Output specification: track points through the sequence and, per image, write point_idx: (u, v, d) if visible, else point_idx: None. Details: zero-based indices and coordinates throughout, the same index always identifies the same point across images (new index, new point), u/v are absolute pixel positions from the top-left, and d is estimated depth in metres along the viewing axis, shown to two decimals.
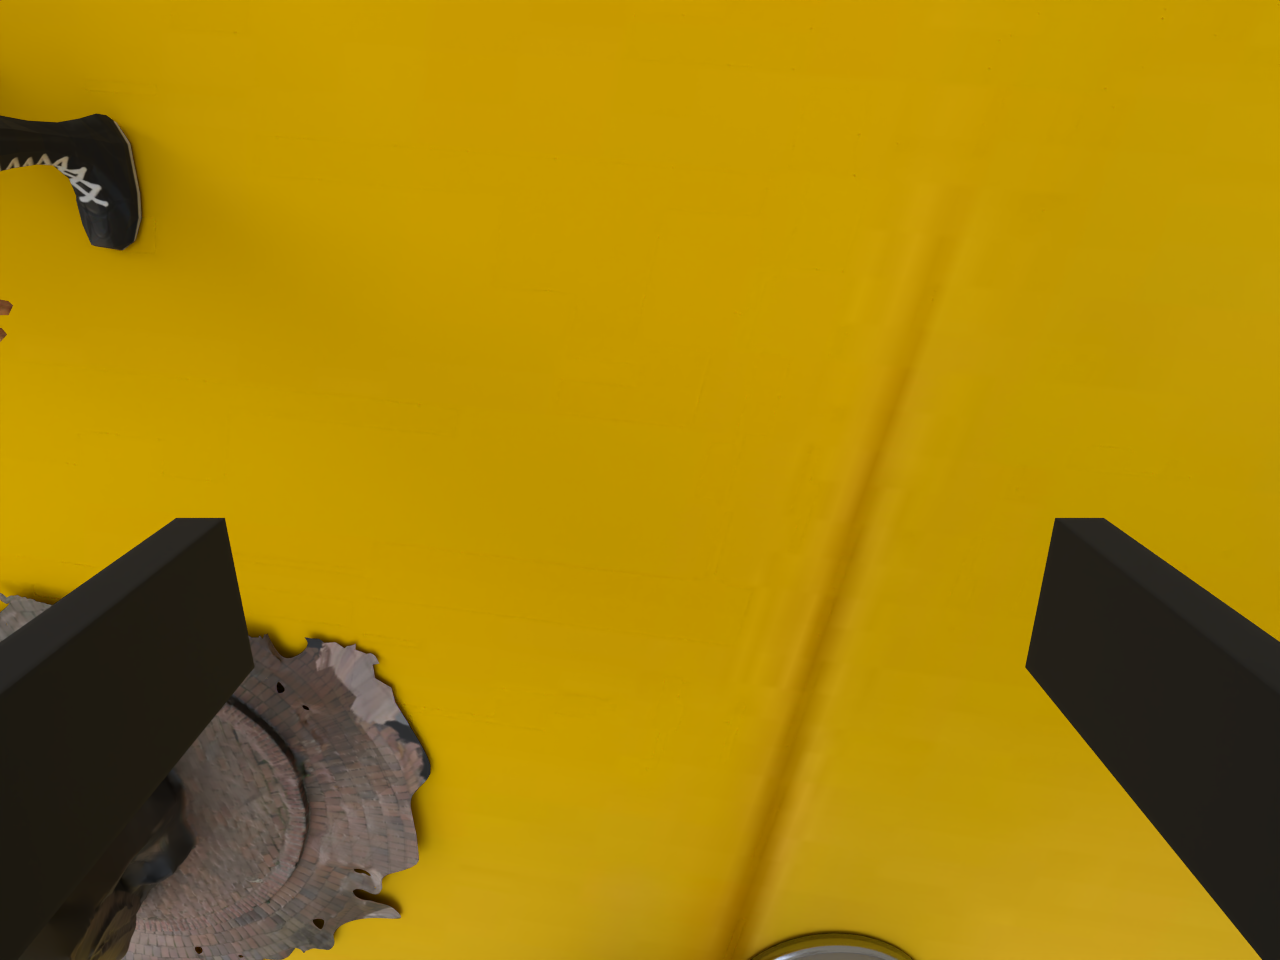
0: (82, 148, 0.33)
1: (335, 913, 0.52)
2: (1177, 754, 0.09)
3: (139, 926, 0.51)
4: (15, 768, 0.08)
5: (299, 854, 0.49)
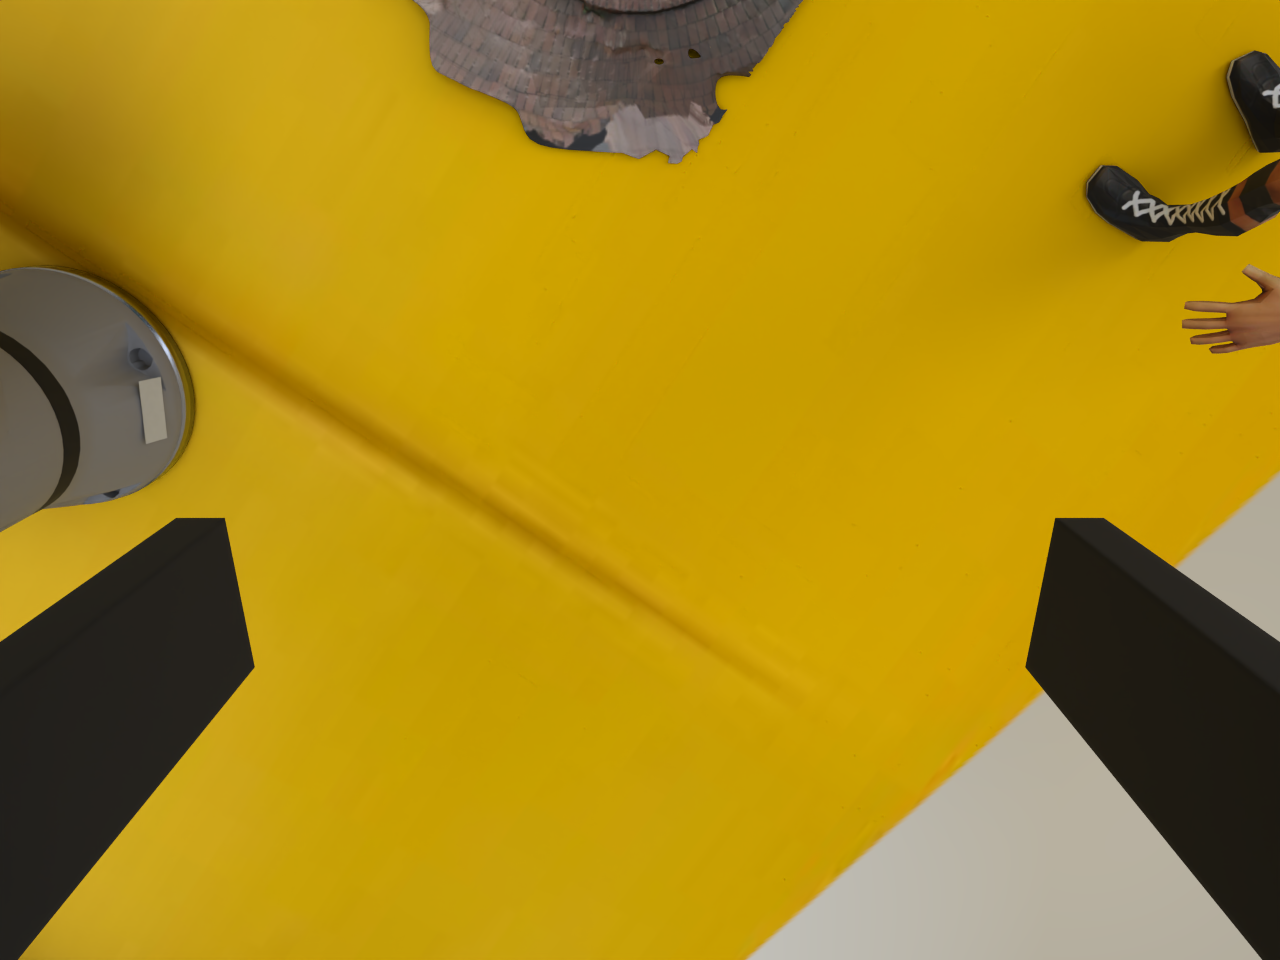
0: (1164, 232, 0.45)
1: None
2: (1177, 754, 0.09)
3: None
4: (15, 767, 0.08)
5: None
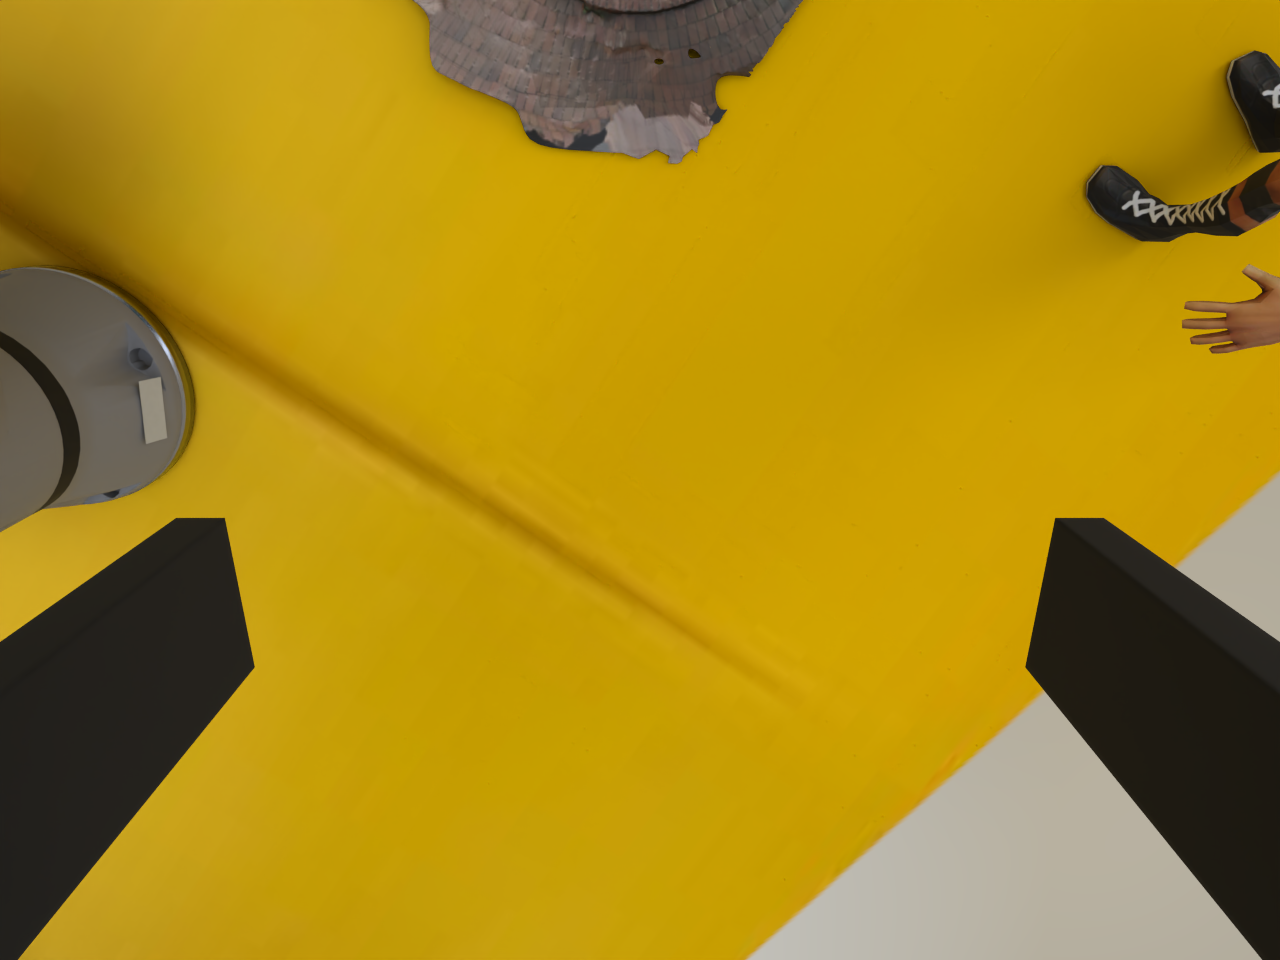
0: (1164, 232, 0.45)
1: None
2: (1177, 754, 0.09)
3: None
4: (15, 767, 0.08)
5: None
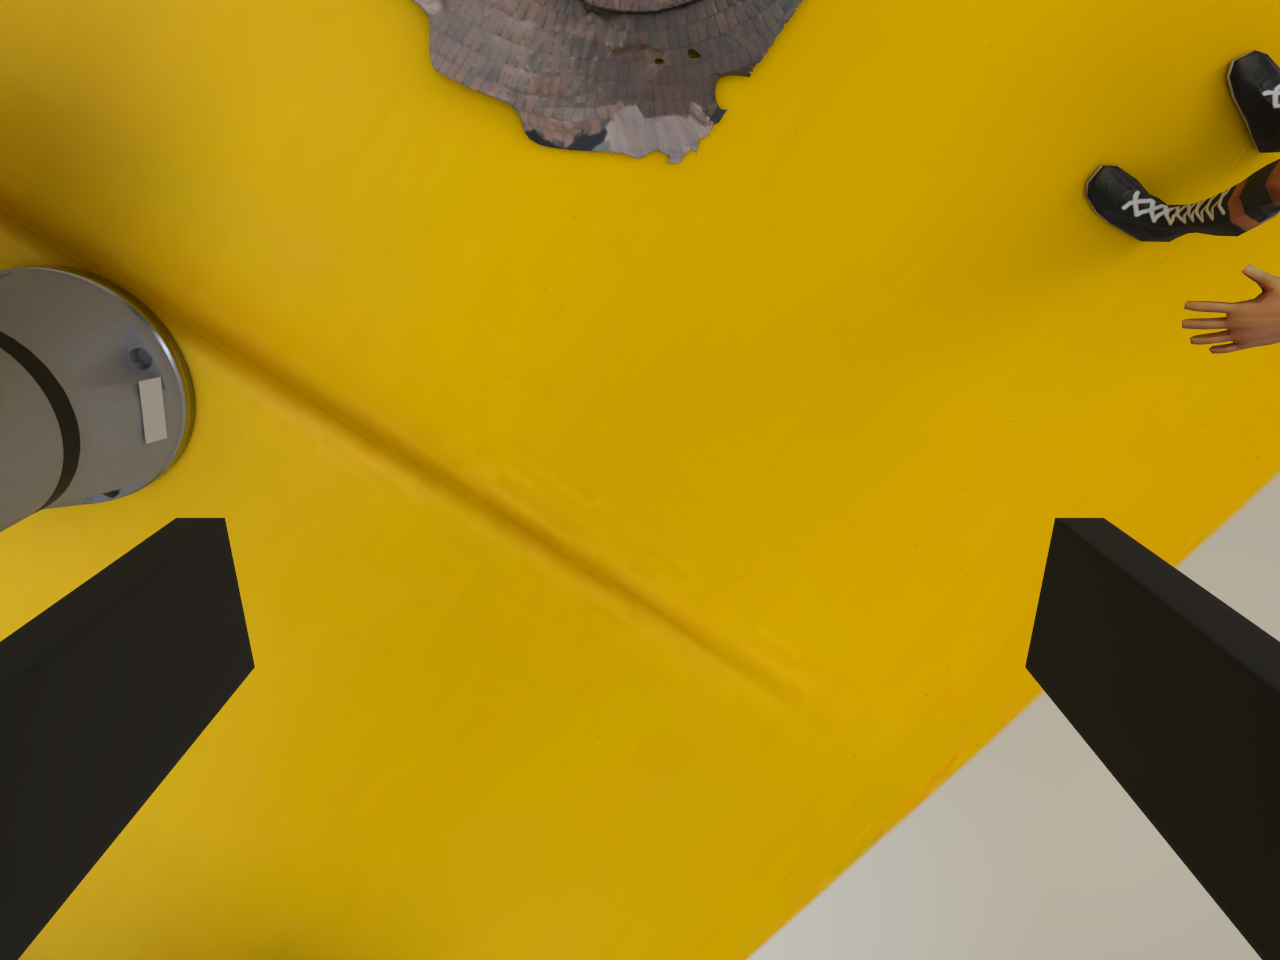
0: (1164, 232, 0.45)
1: None
2: (1177, 754, 0.09)
3: None
4: (15, 767, 0.08)
5: None
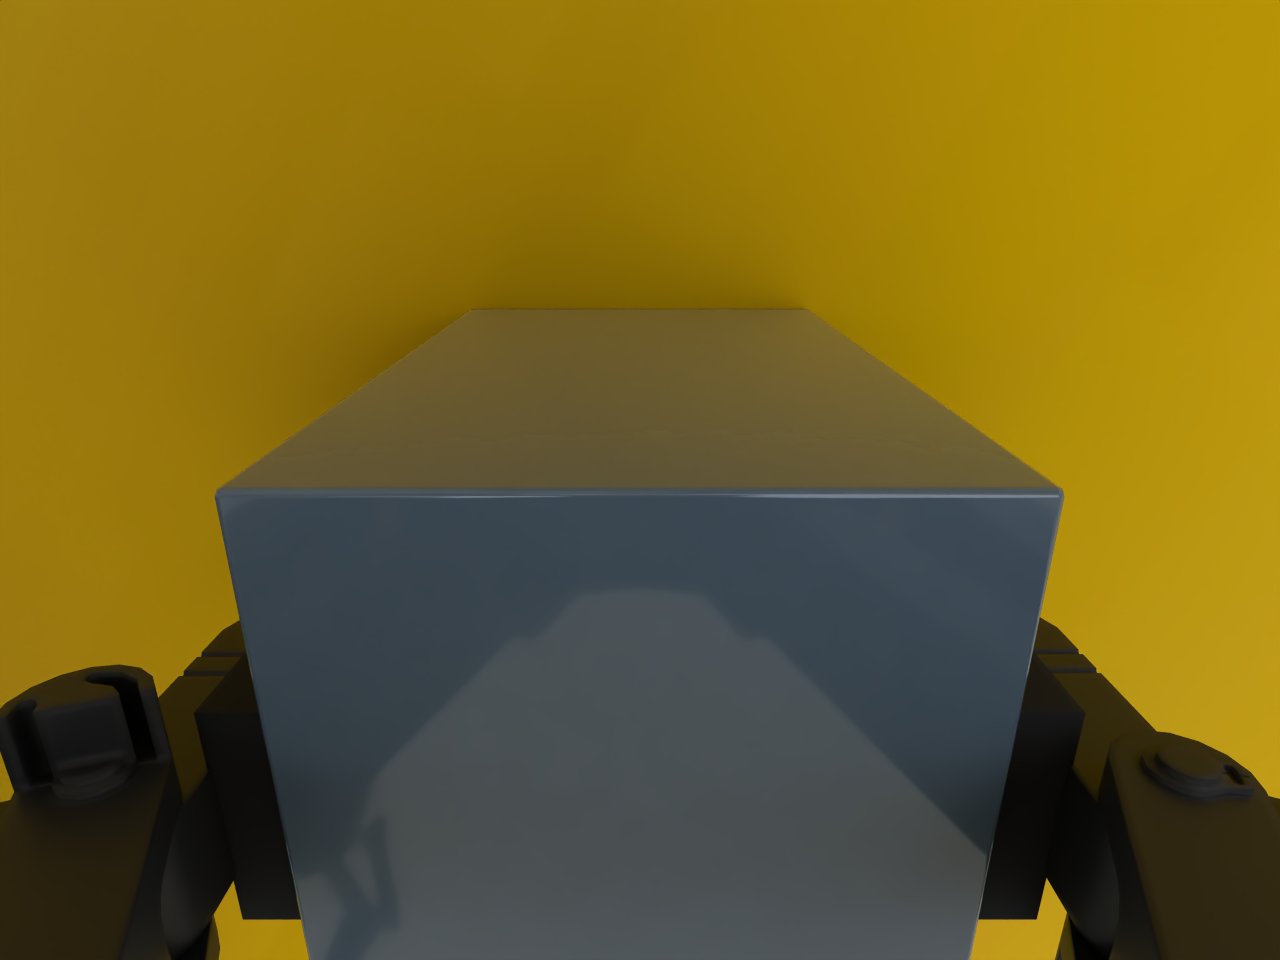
0: None
1: None
2: None
3: None
4: None
5: None
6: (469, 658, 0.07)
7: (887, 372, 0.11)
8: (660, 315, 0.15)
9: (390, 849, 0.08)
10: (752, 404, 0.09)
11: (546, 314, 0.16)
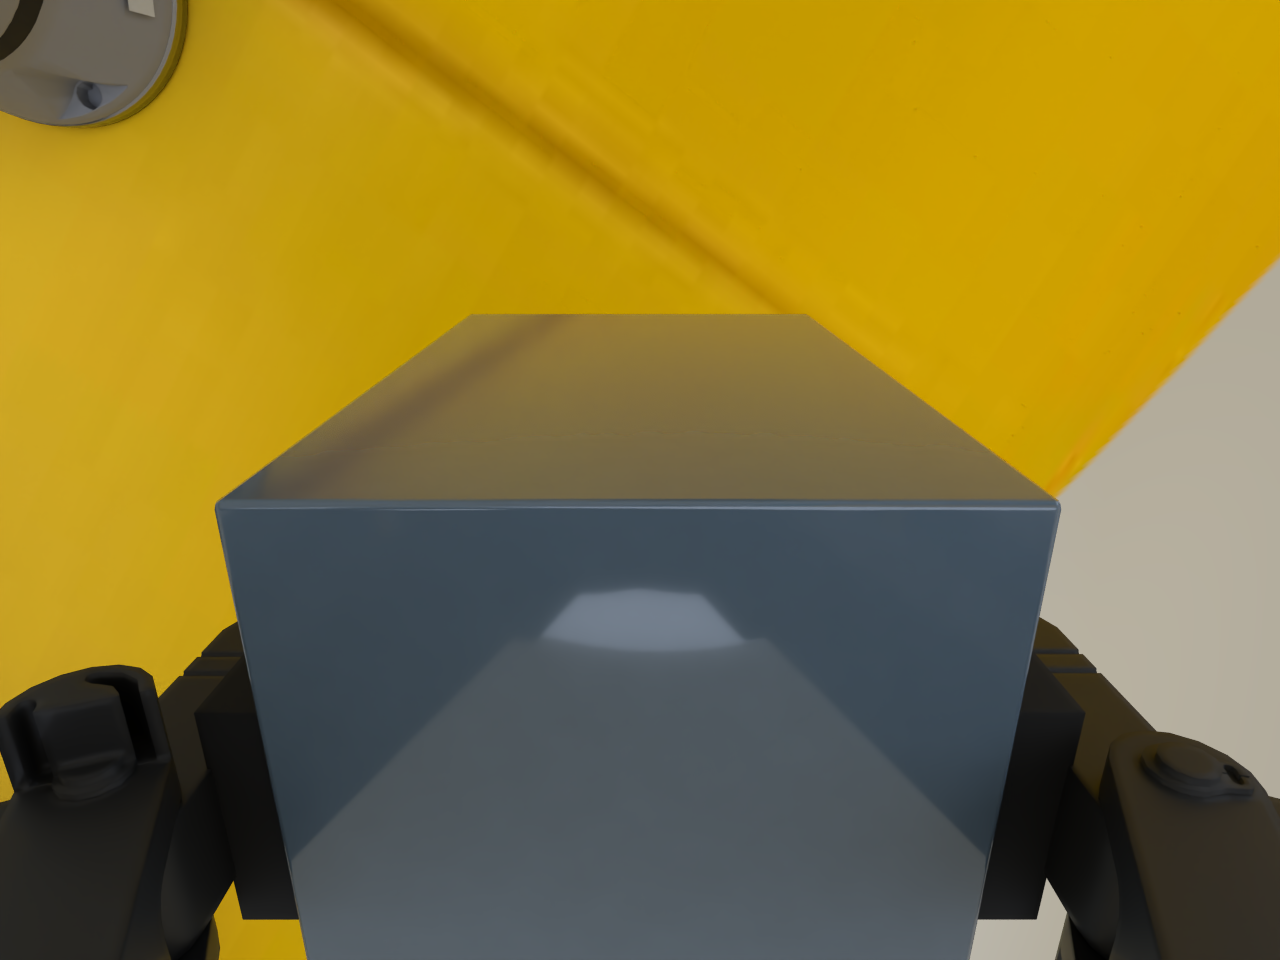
0: None
1: None
2: None
3: None
4: None
5: None
6: (467, 669, 0.07)
7: (886, 380, 0.11)
8: (659, 320, 0.16)
9: (390, 858, 0.08)
10: (751, 413, 0.09)
11: (545, 319, 0.16)
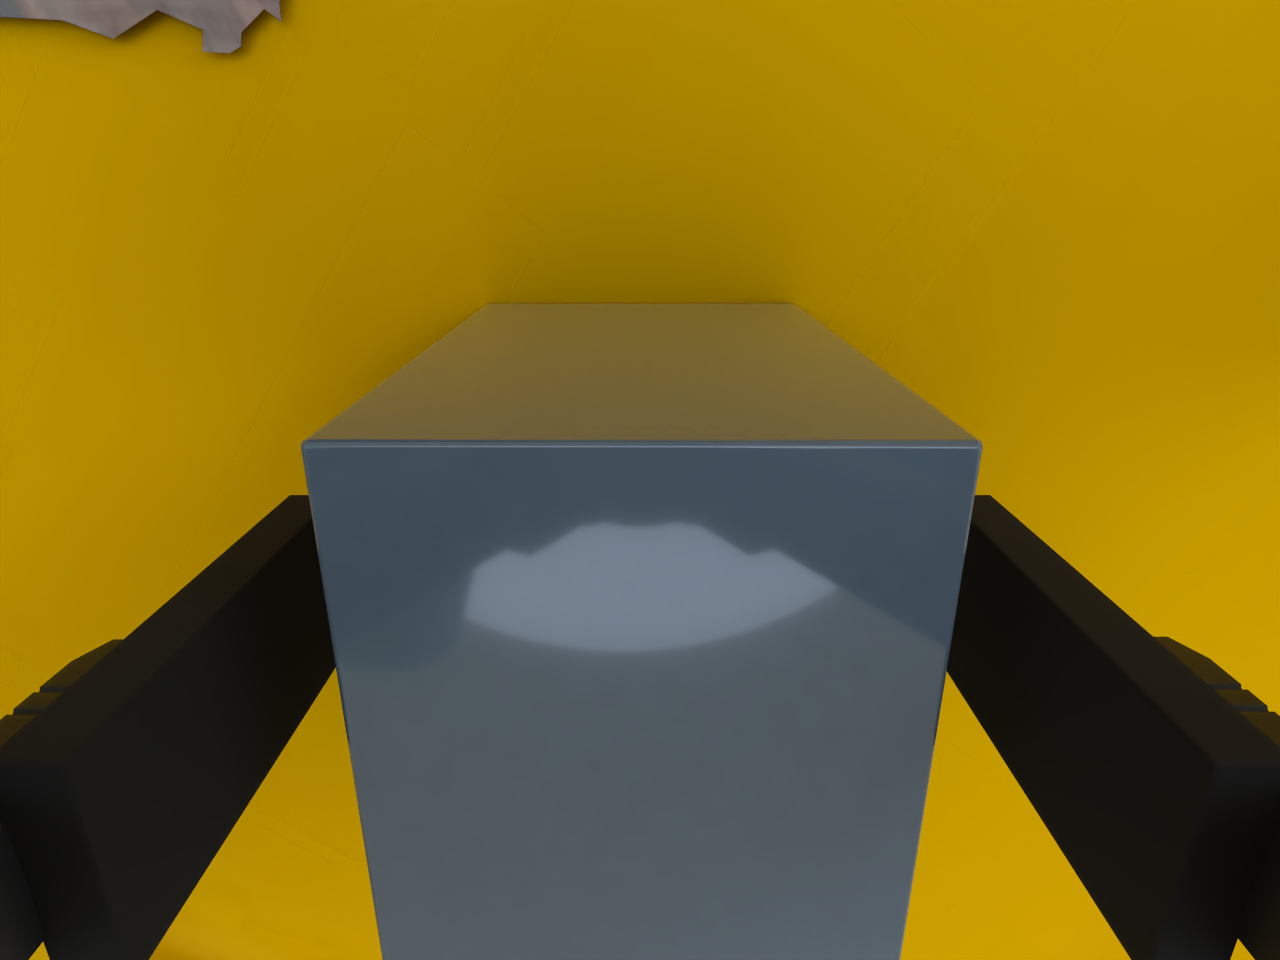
0: None
1: None
2: (1026, 704, 0.10)
3: None
4: (196, 709, 0.09)
5: None
6: (502, 582, 0.09)
7: (856, 356, 0.12)
8: (659, 308, 0.17)
9: (435, 746, 0.09)
10: (737, 380, 0.11)
11: (556, 307, 0.17)
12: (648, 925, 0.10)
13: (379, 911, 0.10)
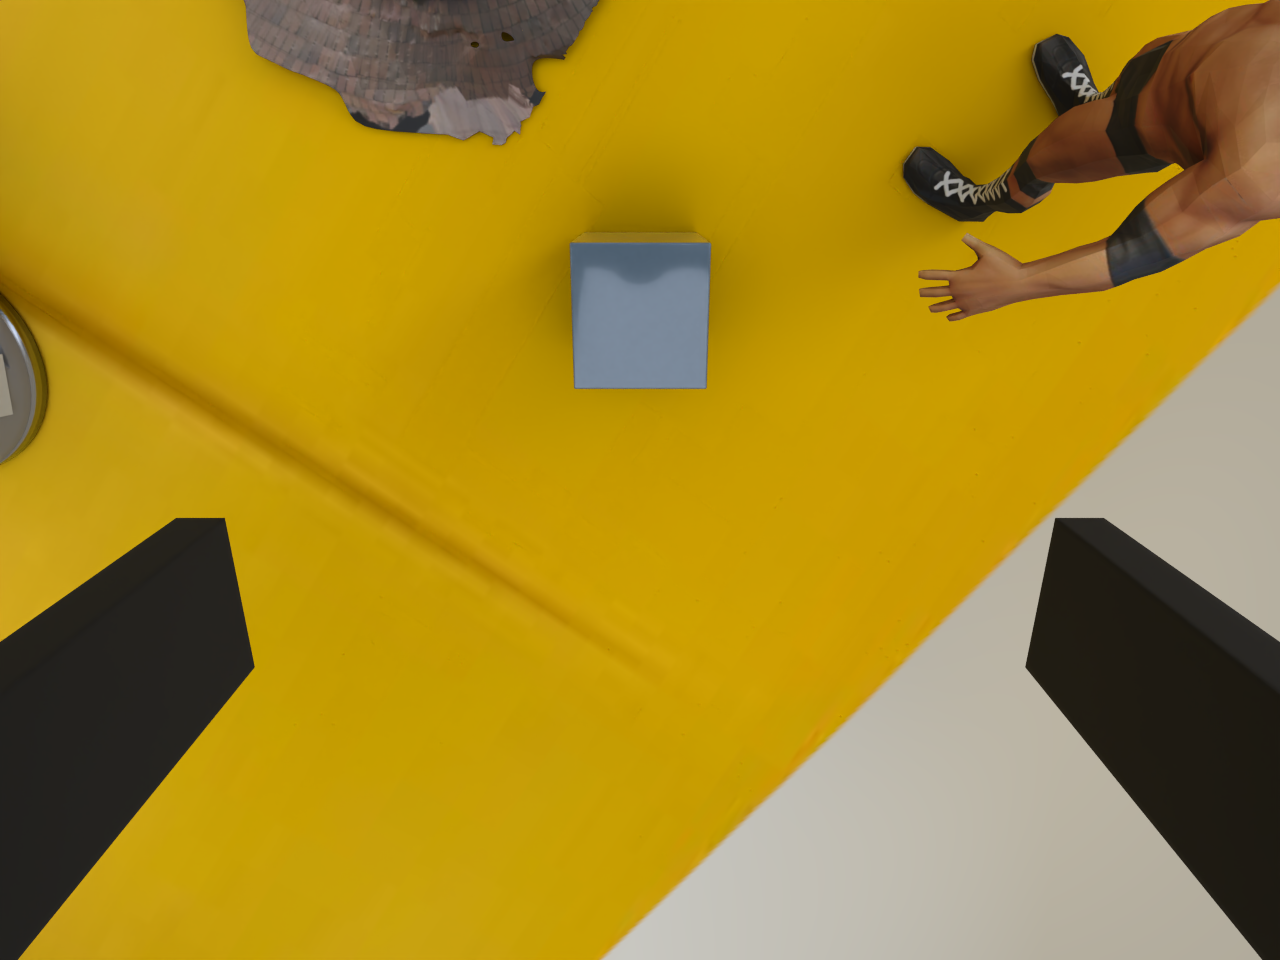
0: (972, 211, 0.46)
1: None
2: (1177, 754, 0.09)
3: None
4: (14, 767, 0.08)
5: None
6: (610, 275, 0.40)
7: (701, 237, 0.44)
8: None
9: (592, 319, 0.41)
10: (664, 239, 0.42)
11: (610, 232, 0.49)
12: (642, 374, 0.42)
13: (575, 370, 0.42)
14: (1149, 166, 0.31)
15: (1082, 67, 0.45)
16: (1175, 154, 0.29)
